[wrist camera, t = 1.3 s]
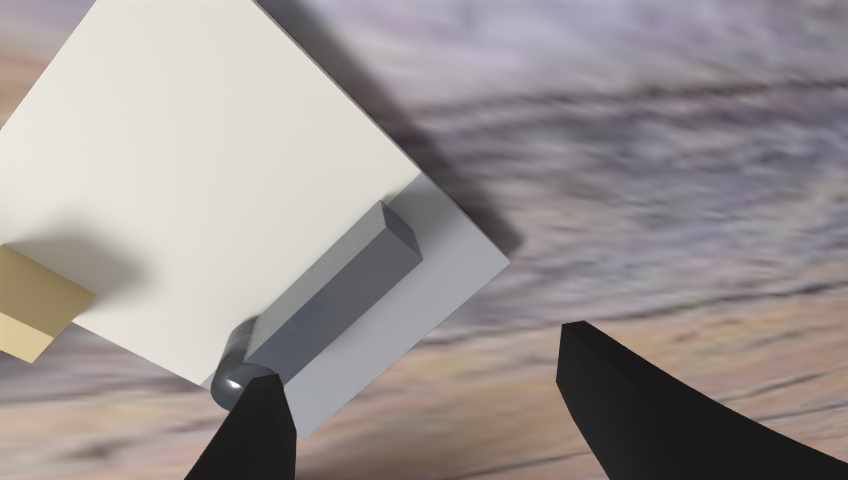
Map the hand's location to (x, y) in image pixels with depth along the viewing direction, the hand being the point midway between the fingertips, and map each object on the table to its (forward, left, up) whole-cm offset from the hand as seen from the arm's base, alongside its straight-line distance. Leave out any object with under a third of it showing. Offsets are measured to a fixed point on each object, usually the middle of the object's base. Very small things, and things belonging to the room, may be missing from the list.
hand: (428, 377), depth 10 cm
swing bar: (+1, +4, -8) cm, 10 cm away
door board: (+4, +5, -10) cm, 12 cm away
